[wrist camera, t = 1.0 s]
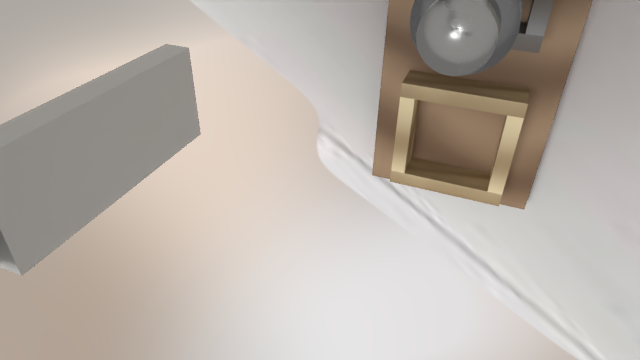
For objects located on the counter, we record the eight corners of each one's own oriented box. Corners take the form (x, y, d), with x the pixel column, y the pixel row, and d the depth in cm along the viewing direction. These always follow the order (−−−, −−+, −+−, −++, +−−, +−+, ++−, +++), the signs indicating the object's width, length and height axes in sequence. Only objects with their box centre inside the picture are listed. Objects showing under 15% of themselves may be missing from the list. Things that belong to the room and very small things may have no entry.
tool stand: (408, -143, 29) (391, -143, 26) (633, -138, 25) (644, -136, 22) (377, 166, 41) (363, 191, 38) (525, 198, 38) (522, 229, 35)
